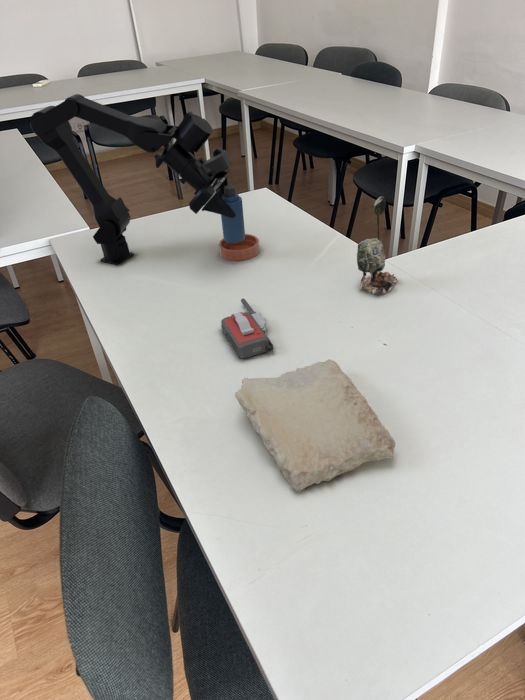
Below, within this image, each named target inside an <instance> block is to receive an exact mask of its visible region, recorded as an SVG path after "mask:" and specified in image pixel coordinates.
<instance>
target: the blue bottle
mask: <svg viewBox="0 0 525 700" xmlns="http://www.w3.org/2000/svg"><path fill="white" fill-rule="evenodd" d="M222 199H223V200H224V201H225V202H226V204H227V205H228V206H229V207H230V208H231V209H232V210H233V212H234V213H235V214H236V216H235V217H234V218H230V217H227V216H224V215H220V218H221V226H222V237H223V238H224V241H226V242H228V243H237V242H241V241H243V240H244V239H245V234H246V232H245V231H246V230H245V219H244V206H243V198H242V197H241V196H240V194H239V193H237V192H236V186H235V185H233V184H229V185H227V186H225V187H224V194H223V195H222Z"/></svg>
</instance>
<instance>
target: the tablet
mask: <svg viewBox="0 0 525 700" xmlns="http://www.w3.org/2000/svg"><path fill="white" fill-rule="evenodd" d="M241 384H242V385H241V388H239V389H238V390H237V391H236V392H235V393H234V397H235V398H236V399H237V402H238V404H239V406H240V407H241V408H242V410H244V412H245V413H246V417H247V418H248V419H249V420H250V423H251V424H252V428H253V429H254V431H256V432H257V434H258V435H260V437H261V438H262V442H263V445H264V447H265V448H266V449H267V451H268V452H269V454H270V455H271V457H273V459H274V460H275V463H276V465H277V467H278V469H279V471H280V472H282V475H283V478H284V479H286V480H287V483H288V485H290V487H291V488H292V489H294V490H295V491H303V490H305V489H306V488H308V487H309V486H313V485H314V484H315V485H318V484H321V482H330V481H332V480H333V478H335V477H337V476H340V475H341V474H345V473H347V472H351V471H354V470H355V469H356V468H357V467H358V468H359V467H361V465H362V464H364V463H366V462H372V461H377V462H379V461H381V460H382V459H392V458H394V451H395V448H396V440H395V439H394V437H393V436H392V435H391V434H390V432H389V430H388V429H386V427H385V426H384V425H382V422H381V420H380V418H379V417H378V415H377V414H376V412H375V411H374V409H373V408H372V407H371V406H370V403H369V402H368V400H367V399H366V398H365V396H364V395H363V394H362V393H361V392H360V391H359V389H358V388H357V386H356V385H355V383H354V382H352V380H351V378H350V377H349V376H348V375H347V374H346V373H345V372H344V371H343V370H342V368H341V367H340V365H339V363H338V362H336V361H335V360H333V359H327V360H324V361H318V362H315V363H313V364H310V365H306V366H303V367H297V368H296V369H295V370H291V371H286V372H284V373H282V374H281V375H280V376H277V377H254V378H249V377H244V378H242V380H241Z"/></svg>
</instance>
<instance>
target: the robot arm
mask: <svg viewBox="0 0 525 700" xmlns="http://www.w3.org/2000/svg"><path fill="white" fill-rule="evenodd" d="M74 118H78V119H81V120H83V121H86V122H88V123H91V124H93V125H96V126H98V127H101V128H103V129H106V130H109V131H111V132H114V133H117V134H119V135H121V136H123V137H125V138H126V139H128V141H130V142H131V143H132V144H133V145H134V146H136V147H138V148H139V149H141V150H143V151H145V152H146V153H150V154H153V153H155V152H157V151H159V150H160V149H162V148H163V147H164V146H165V147H164V148H163V150H162V151H161V152H157V153H156V154H154V157H153V158H154V159H155V168H156V169H159V168H160V167H161V166H163V164H165V165H166V166H167V167H168V168H170V169H171V171H173V173H175V174H176V175H177V176H178V177H179V178H181V179H180V182H179V183H181V184H182V185H185V184H187V185H188V186H190V187H191V188H192V189H193V190H194V192H193V195H194V196H193V197H192V199H191V200H190V201H189V202H188V206H189V210H191V211H192V212H193V213H194V214H195V215H198V213H199V212H200V211H202V212H209V213H213V214H216V215H220V216H221V215H224V216H227V217H230V218H234V217H235V216H236V214H235V213H234V212H233V210H232V209H231V208H230V207H229V206H228V205H227V204H226V202H225V201H224V200H223V199H222V195H223V194H224V187H225V186H227V185H230V174H229V172H230V171H231V168H230V165H232V164H233V162H232V160H231V159H230V153H229V152H228V151H227V150H226V149H223V148H222V147H220V146H219V147H217V148H215V149H214V150H213V151H212V156H211V157H210V158H208V159H207V160H205V158H203V157H198V158H197V157H196V156H195V155H194V154H192V153H199V151H200V150H201V149H202V148H203V146H204V145H205V144H206V142H207V141H208V140H209V139H210V138H211V136H212V135H213V134H214V129H213V127H212V125H211V124H210V123H209V121H208V120H206V119H205V118H203V117H202V116H200V115H197V114H194V113H193V112H192V111H190V110H188V111H187V112H186V113H185V115H184V116H183V118H182V120H181V121H180V123H179V124H178V125H173V124H167V123H165V122H164V121H163V120H160V119H156V118H151V117H147V116H135V115H130V114H127V113H125V112H122V111H119V110H118V109H115V108H112V107H110V106H107V105H105V104H102V103H99V102H97V101H94V100H92V99H90V98H87V97H85V96H84V95H82V94H79V93H75V94H72V95H70V96H69V97H67V98H65V99H64V101H62V102H60V103H59V104H57V105H48V106H45V107H44V108H42V109H39V110H38V111H35V112H34V113H33V114H32V115H31V117H30V123H29V125H30V128H31V130H32V132H33V133H34V134H35V135H36V136H37V137H38V139H39V140H40V141H41V142H42V143H43V144H44V145H45V146H47V147H48V148H50V149H52V150H53V151H54V152H56V154H57V155H58V156H59V158H60V160H61V161H62V162H63V164H64V165H65V167H66V168H67V170H68V171H69V173H70V175H71V176H72V177H73V179H74V181H76V183H77V184H78V186H79V187H80V189H81V191H82V192H83V193H84V195H85V196H86V198H87V200H88V201H89V202H90V204H91V206H92V209H93V215H94V219H95V221H96V224H97V225H98V227H99V228H98V229H97V230H96V231H95V233H94V234H93V236H92V238H93V240H94V241H95V243H96V244H97V245H100V246H101V250H102V254H103V257H101V258H100V262H101V263H107V264H111V265H116V266H121V264H123V263H124V262H126V261H128V260H129V259H130V258H132V257H134V255H135V254H134V253H133V252H130V249H129V244H128V242H127V240H126V236H125V235H124V232H126V231H127V226H129V224H130V222H131V215H130V210H131V209H129V208H128V207H127V206H126V205H125V203H124V201H123V198H122V197H118V198H115V197H113V196H111V195H110V194H109V192H108V191H107V189H106V188H105V186H104V185H103V183H102V182H101V180H100V178H99V177H98V176H97V174H96V172H95V171H94V169H93V168H92V167H91V165H90V163H89V162H88V160H87V159H86V156H84V154H83V153H82V151H81V149H80V148H79V146H78V144H77V143H76V142H75V138H74V133H73V128H72V125H71V123H70V121H71V120H72V119H74ZM173 140H175V142H174V143H173V144H171V142H172V141H173ZM225 176H226V177H225Z"/></svg>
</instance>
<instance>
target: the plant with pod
mask: <svg viewBox="0 0 525 700" xmlns="http://www.w3.org/2000/svg"><path fill="white" fill-rule="evenodd" d="M386 207H387V203H386V198H385V197H384V196H383V195H380V196H379V197H378V198H377V199H376V200H375V201H374V203H373V213H374V215H376V223H377V224H376V226H377V227H376V231H377V232H376V234H377V237H373V238H366V239H363V240H362V241H359V239H357V240H356V241H357V242H359V243H358V244H357V253H356V264H357V269H358V270H359V271H360V272H362V277H361V280H360V285H359V290H363V291H364V292H367V293H369V294H373V295H385V293H387V292H389V291H390V290H392V289H393V287H394V286H395V284H396V282H398V281H399V280H398V278H397V276H395V274H394V273H393V274H391V273H390V272H389V271H385V272H382V271H383V270H384V269H385V267H386V252H385V248H384V245H383V242H382V241H381V239H380V225H379V224H380V216H381V215H382V214H384V212H385V211H386ZM367 273H369V274H370V275H368V276H367Z"/></svg>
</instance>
